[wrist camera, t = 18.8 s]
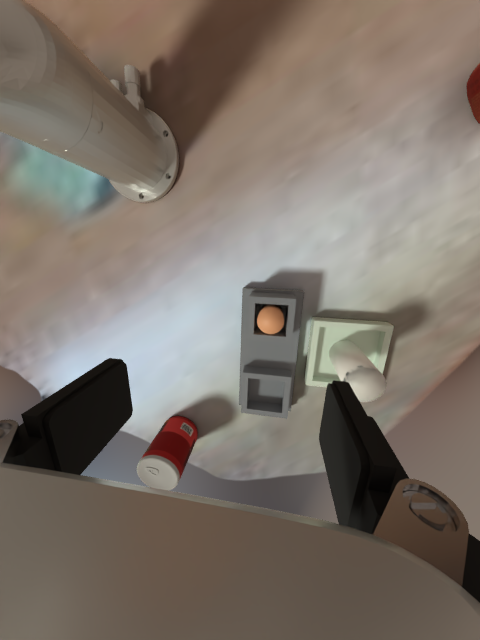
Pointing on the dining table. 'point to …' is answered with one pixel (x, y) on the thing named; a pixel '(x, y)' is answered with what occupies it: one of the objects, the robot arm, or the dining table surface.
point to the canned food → (168, 454)
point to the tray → (331, 330)
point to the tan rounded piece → (270, 318)
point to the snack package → (474, 92)
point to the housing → (269, 353)
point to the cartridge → (357, 370)
